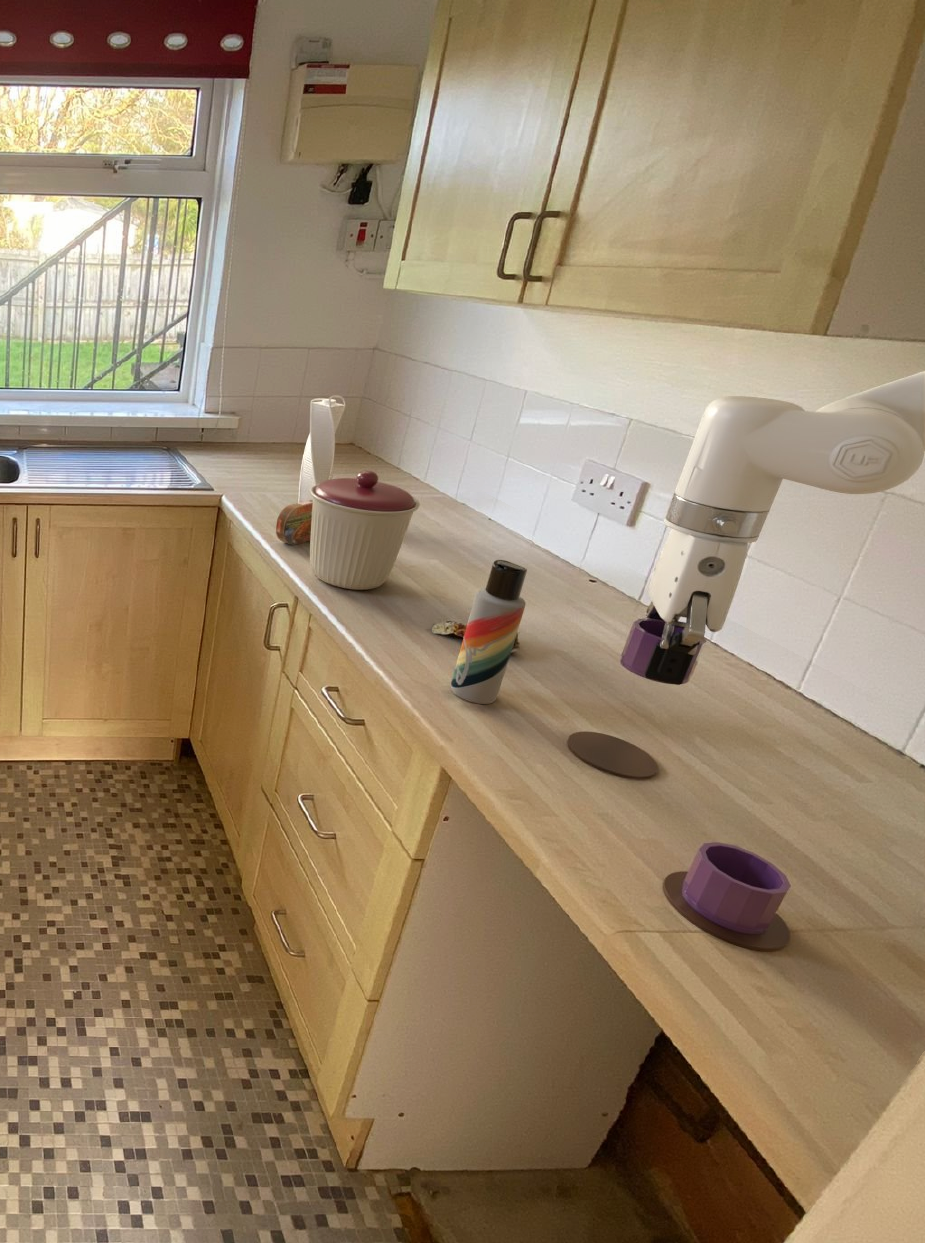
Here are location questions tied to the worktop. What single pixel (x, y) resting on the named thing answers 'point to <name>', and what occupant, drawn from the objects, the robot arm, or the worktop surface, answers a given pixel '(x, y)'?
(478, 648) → the lotion bottle
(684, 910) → the coaster front
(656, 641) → the ramekin
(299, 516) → the tin
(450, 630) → the pastry
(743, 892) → the ramekin
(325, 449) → the skyscraper
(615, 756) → the coaster back
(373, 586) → the canister
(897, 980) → the worktop surface
